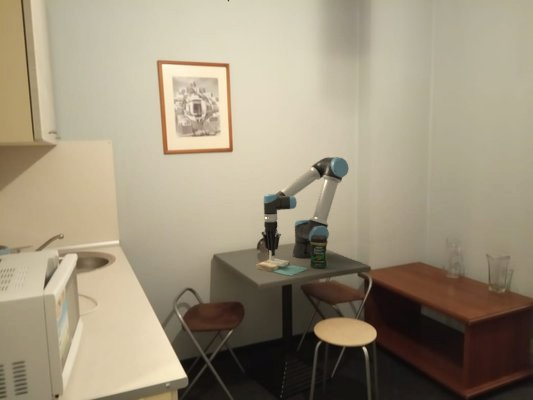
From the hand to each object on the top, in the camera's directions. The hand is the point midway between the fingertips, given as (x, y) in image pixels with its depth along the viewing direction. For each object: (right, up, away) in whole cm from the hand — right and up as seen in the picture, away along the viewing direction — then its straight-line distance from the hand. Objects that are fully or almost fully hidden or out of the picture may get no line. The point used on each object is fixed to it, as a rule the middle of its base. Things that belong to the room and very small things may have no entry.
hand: (271, 261), depth 233 cm
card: (+4, -1, -3) cm, 5 cm away
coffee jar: (+27, -3, -3) cm, 27 cm away
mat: (+10, -4, -8) cm, 14 cm away
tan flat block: (+1, -3, 0) cm, 3 cm away
